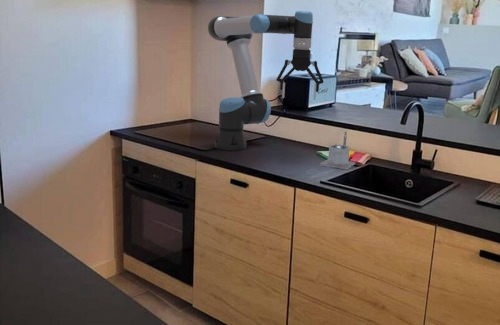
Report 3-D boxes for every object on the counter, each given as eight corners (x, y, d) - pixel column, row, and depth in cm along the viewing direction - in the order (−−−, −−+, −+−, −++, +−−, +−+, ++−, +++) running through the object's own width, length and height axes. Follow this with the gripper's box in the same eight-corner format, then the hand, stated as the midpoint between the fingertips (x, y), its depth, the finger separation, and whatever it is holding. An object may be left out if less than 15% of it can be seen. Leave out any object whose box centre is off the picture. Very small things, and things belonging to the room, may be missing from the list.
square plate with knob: (319, 165, 223) (321, 149, 221) (329, 159, 233) (330, 145, 232) (346, 169, 218) (348, 153, 216) (355, 163, 228) (356, 148, 226)
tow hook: (333, 155, 244) (333, 159, 235) (336, 128, 241) (336, 130, 232) (351, 157, 243) (352, 160, 234) (354, 129, 240) (355, 132, 231)
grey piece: (328, 159, 230) (329, 144, 228) (347, 161, 229) (348, 145, 227) (328, 166, 219) (329, 149, 218) (348, 167, 218) (350, 151, 217)
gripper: (271, 47, 220) (269, 97, 226) (331, 50, 217) (327, 101, 223) (273, 47, 228) (271, 95, 233) (331, 49, 225) (327, 99, 230)
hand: (298, 98), depth 228 cm, fingers open, 13 cm apart
